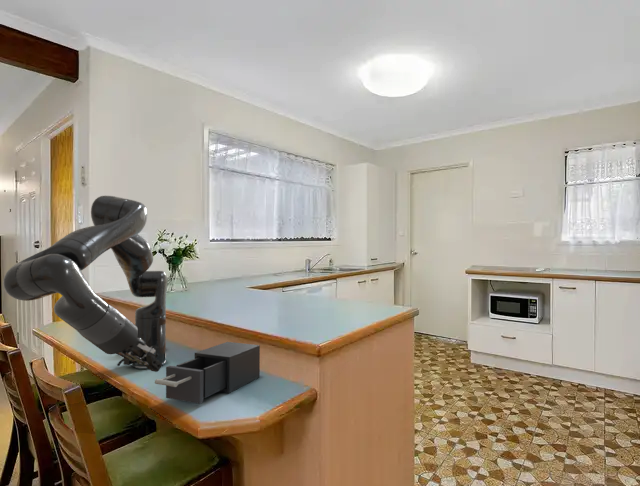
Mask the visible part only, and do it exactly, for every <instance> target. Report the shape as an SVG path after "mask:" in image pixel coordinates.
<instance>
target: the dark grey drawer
mask: <svg viewBox="0 0 640 486" xmlns="http://www.w3.org/2000/svg"><path fill="white" fill-rule="evenodd" d="M154 384H155V385H160V386H165V399H171V400H176V401H181V402H182V401H183V402H186V403H187V402H188V403H193V404H199V405H201V404H203V403H204V399H207V398H208V397H211V396H213V395H215V394H216V393H219V391H220V390H222V389H224V388H226V387H227V360H224V359H216V358H208V357H198V358H195V357H194V358H192V359H190V360H186V361H184V362H181V363H179V364H176V365H167V366H165V377H162V378H155V380H154Z"/></svg>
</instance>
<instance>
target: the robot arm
mask: <svg viewBox="0 0 640 486" xmlns="http://www.w3.org/2000/svg"><path fill="white" fill-rule="evenodd" d="M90 218H91V222H92V224H93V225H90V226H86V227H82V228H79V229H76V230H74V231H72V232H69V233H68V234H66V235H65V236H63V237H61V238H60V239H59V240H57V241H55V243H53V244H52V245H51V246H49V247H46V248H45V249H43V250H41V251H39V252H36V253H35V254H33V255H31V256H29V257H27V258H25V259H23V260H21V261H19V262H17V263H15V264H14V265H13V266H11V267H10V268H8V270H7V271H6V272H5V275H4V276H3V281H2V285H3V289H4V291H5V293H7V295H8V296H10V297H12V299H15V300H18V301H27V302H28V301H29V302H31V301H35V300H39V299H43V298H45V297H49V296H52V295H54V294H59V295H60V297H59V298H58V300H57V301H56V302H55V304H54V306H53V311H54V314H55V316H57V317H58V318H59V319H60V320H62V321H63V322H64V323H66V324H67V325H69V326H70V327H71V328H73V329H74V330H75V331H76V332H78V333H79V335H80V336H82V338H84V339H85V340H87V341H88V342H89V343H91V344H92V345H94V346H95V347H96V348H98V349H99V350H101V352H103V353H105V354H106V355H117V356H119V357H121V358H122V359H120V360H119V361H118V363H117V364H116V366H118V367H120V365H121V364H122V363H123V365H124V366H130V365H131V366H132V367H133V368H135V369H139V370H146V369H147V370H149V371H151V372H155V373H159V372H160V370H161V368H162V367H163V366H164V365H165V364H166V363H167V360H166V358H167V349H166V348H167V347H166V346H167V341H166V340H167V315H166V314H167V290H168V289H167V288H168V275H167V273H166V272H165V271H164V270H149V269H150V268H151V266H152V265H153V263H154V253H153V251H152V248H151V246H150V244H149V242H148V241H147V240H146V239H145V238H144V237H143V236H141V235H140V233H141V232H142V231H143V230H144V228H145V227H146V224H147V220H148V209H147V207H146V205H145V204H144V203H142V202H140V201H137V200H134V199H129V198H125V197H124V198H123V197H119V196H114V195H100V196H98V197H96V198H95V199H94V201H93V202H92V204H91V207H90ZM110 249H111V251H112V253H113V255H114V257H115V260H116V261H117V264H118V265H119V266H120V268H121V270H122V272H123V273H124V275H125V277H126V281H127V285H128V287H129V290H130V293H131V294H132V295H133V297H136V298H154V300H153V301H152V302H151V303H149V304H146V305H143V306H141V307H138V308H137V309H135V311H134V318H135V319H134V323H133V322H132V321H131V320H130V319H129V318H128V317H126V316H125V315H124V314H123V313H122V312H121V311H120V310H118V309H117V308H115V307H114V306H113V305H110V304H109V303H108V302H107V301H105V300H104V299H103V298H102V297H101V296H100V295H98V294H97V293H96V292H95V291H94V289H93V288H92V286H91V285H90V283H89V282H88V280H87V279H86V277H85V276H84V273H83V272H82V271H83V270H85V269H86V268H88V266H90V265H91V264H92V263H93V262H94V261H96V260H97V259H98V258H99V257H100V256H102V255H103V254H104V253H105V252H107V251H108V250H110Z"/></svg>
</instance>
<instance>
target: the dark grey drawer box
mask: <svg viewBox="0 0 640 486" xmlns="http://www.w3.org/2000/svg"><path fill="white" fill-rule="evenodd" d="M260 348H261V345H260V344H253V343H252V344H250V343H241V342H232V341H226V342H222V343H220V344H216V345H214V346H210V347H208V348H205V349H202V350H199V351H196V352H194V359H195V358H198V357H208V358H216V359H224V360H227V387H226V388H224V389H222V390H220V391H218V393H219V392H221V393H226V394H231V393H233V392H234V391H236V390H238V389H240V388H242V387H244V386H246V385H247V384H250V383H252V382H254V381H255V380H257V379H259V378H260V376H261V375H260V368H261V364H260V363H261V362H260V361H261V359H260V358H261V357H260V356H261V349H260Z"/></svg>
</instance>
